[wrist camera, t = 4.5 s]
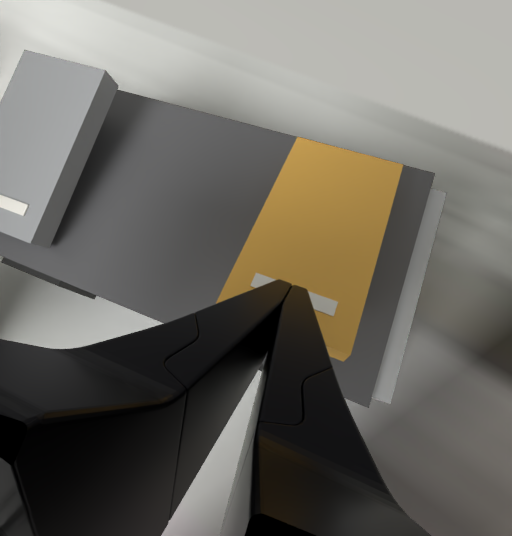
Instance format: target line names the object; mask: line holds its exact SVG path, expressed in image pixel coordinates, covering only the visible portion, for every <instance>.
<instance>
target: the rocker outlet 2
mask: <svg viewBox="0 0 512 536" xmlns="http://www.w3.org/2000/svg"><path fill="white" fill-rule="evenodd" d="M402 168H403V164H399V163H396V162H392V161H388V160H384V159H380V158H377V157H373V156H369V155H365V154H361V153H358V152H354V151H350V150H346V149H342V148H339V147H335V146H331V145H327V144H323V143H320V142H316V141H312V140H308V139H304V138H301V137H297V139H296V141H295V143H294V145H293V147H292V149H291V151H290V153H289V155H288V157H287V159H286V161H285V163H284V165H283V167H282V169H281V171H280V173H279V175H278V177H277V180H276V182H275V184H274V186H273V188H272V190H271V192H270V194H269V196H268V198H267V200H266V202H265V204H264V206H263V208H262V210H261V212H260V214H259V216H258V218H257V220H256V222H255V224H254V226H253V228H252V230H251V232H250V234H249V237H248V239H247V241H246V243H245V245H244V247H243V249H242V251H241V253H240V255H239V257H238V259H237V261H236V263H235V265H234V267H233V269H232V271H231V273H230V275H229V277H228V279H227V281H226V283H225V285H224V287H223V289H222V292H221V294H220V296H219V298H218V300H217V302H216V304H217V303H219V302H222V301H224V300H227V299H229V298H232V297H234V296H237V295H239V294H242V293H245V292H247V291H250V290H252V289H255V288H257V287H260V286H262V285H265V284H267V283H270V282H272V281H275V280H278V279H281V280H283V281H286V282H289V283H291V284H292V286H293V285H297V286H300V287H303V288H306V289H307V290H308V293H309V296H310V299H311V302H312V305H313V308H314V311H315V314H316V317H317V320H318V323H319V326H320V329H321V332H322V335H323V338H324V341H325V344H326V347H327V350H328V353H329V356H330V357H333V358H335V359H338V360H340V361H343V362H344V361H345V360H346V359H347V358H348V357H349V356H350V355H351V352H352V348H353V345H354V341H355V337H356V334H357V330H358V327H359V323H360V319H361V316H362V312H363V309H364V305H365V301H366V298H367V294H368V291H369V287H370V283H371V280H372V276H373V273H374V269H375V265H376V262H377V258H378V255H379V251H380V247H381V244H382V240H383V237H384V233H385V229H386V226H387V222H388V218H389V215H390V211H391V208H392V204H393V200H394V197H395V193H396V190H397V186H398V182H399V179H400V175H401V172H402Z"/></svg>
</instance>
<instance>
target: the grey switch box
mask: <svg viewBox="0 0 512 536" xmlns="http://www.w3.org/2000/svg"><path fill="white" fill-rule="evenodd" d="M296 139H297V137H295V136H291V135H288V134H284V133H280V132H276V131H272V130H269V129H265V128H261V127H257V126H253V125H250V124H246V123H242V122H238V121H234V120H231V119H227V118H223V117H219V116H215V115H212V114H208V113H204V112H200V111H196V110H193V109H189V108H185V107H181V106H178V105H174V104H170V103H166V102H162V101H159V100H155V99H151V98H147V97H143V96H140V95H136V94H132V93H128V92H124V91H121V90H117V91H116V93H115V96H114V98H113V101H112V103H111V105H110V108H109V110H108V112H107V115H106V117H105V119H104V122H103V124H102V126H101V129H100V131H99V133H98V136H97V138H96V140H95V143H94V145H93V147H92V150H91V152H90V154H89V157H88V159H87V161H86V164H85V166H84V168H83V171H82V173H81V175H80V178H79V180H78V182H77V185H76V187H75V189H74V192H73V194H72V196H71V199H70V201H69V204H68V206H67V208H66V211H65V213H64V215H63V218H62V220H61V222H60V225H59V227H58V229H57V232H56V234H55V236H54V239H53V241H52V243H51V246H50V248H46V247H42V246H38V245H34V244H30V243H28V242H25V241H23V240H20V239H18V238H15V237H13V236H10V235H8V234H5V233H2V232H0V256H3V257H4V258H3V260H2V261H1V262H2V263H5V264H7V265H9V266H12V267H14V268H16V269H19V270H21V271H24V272H26V273H28V274H31V275H33V276H36V277H38V278H40V279H43V280H45V281H48V282H50V283H52V284H55V285H57V286H60V287H62V288H65V289H68V290H71V291H73V292H76V293H79V294H81V295H84V296H87V297H89V298H92V299H95V297H96V295H97V296H99V297H102V298H104V299H107V300H109V301H111V302H114V303H116V304H119V305H121V306H123V307H126V308H128V309H131V310H133V311H136V312H138V313H140V314H143V315H145V316H148V317H150V318H152V319H155V320H157V321H160V322H162V323H167V322H170V321H173V320H175V319H178V318H181V317H184V316H186V315H189V314H191V313H194V314H195V312H196V311H199V310H202V309H204V308H207V307H209V306H212V305H214V304H216V302H217V300H218V298H219V296H220V294H221V292H222V289H223V287H224V285H225V283H226V281H227V279H228V277H229V275H230V273H231V271H232V269H233V267H234V265H235V263H236V261H237V259H238V257H239V255H240V253H241V251H242V249H243V247H244V245H245V243H246V241H247V239H248V237H249V234H250V232H251V230H252V228H253V226H254V224H255V222H256V220H257V218H258V216H259V214H260V212H261V210H262V208H263V206H264V204H265V202H266V200H267V198H268V196H269V194H270V192H271V190H272V188H273V186H274V184H275V182H276V180H277V177H278V175H279V173H280V171H281V169H282V167H283V165H284V163H285V161H286V159H287V157H288V155H289V153H290V151H291V149H292V147H293V145H294V143H295V141H296ZM434 175H435V173H432V172H428V171H424V170H420V169H416V168H413V167H409V166H405V165H403V168H402V172H401V175H400V179H399V182H398V186H397V190H396V193H395V197H394V200H393V204H392V208H391V211H390V215H389V218H388V222H387V226H386V229H385V233H384V237H383V240H382V244H381V247H380V251H379V255H378V258H377V262H376V265H375V269H374V273H373V276H372V280H371V283H370V287H369V291H368V294H367V298H366V301H365V305H364V309H363V312H362V316H361V319H360V323H359V327H358V330H357V334H356V337H355V341H354V345H353V348H352V352H351V355H350V356H349V357H348V358H347V359H346V360H345V361H344V362H343V361H340V360H338V359H335V358H333V357H330V359H331V362H332V365H333V369H334V371H335V374H336V377H337V380H338V383H339V386H340V388H341V391H342V394H343V397H344V398H346V399H348V400H351V401H353V402H356V403H358V404H360V405H363V406H365V407H368V408H369V405H370V402H371V398H372V399H375V400H378V401H381V402H384V403H387V404H391V400H392V396H393V393H394V389H395V385H396V381H397V378H398V374H399V370H400V366H401V363H402V359H403V355H404V351H405V348H406V344H407V340H408V336H409V333H410V329H411V325H412V321H413V318H414V314H415V310H416V306H417V303H418V299H419V295H420V291H421V288H422V284H423V280H424V276H425V273H426V269H427V265H428V261H429V258H430V254H431V250H432V246H433V243H434V239H435V235H436V231H437V228H438V224H439V220H440V217H441V213H442V209H443V205H444V202H445V198H446V194H447V193H446V192H443V191H439V190H435V189H432V188H431V186H432V182H433V179H434ZM266 356H267V355H266ZM265 359H266V357H265ZM265 359H264V361H263V362H262V364H261V366H260V368H259V369H258V370H260V371H262V370H263V366H264V363H265Z"/></svg>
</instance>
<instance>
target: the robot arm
mask: <svg viewBox="0 0 512 536" xmlns="http://www.w3.org/2000/svg"><path fill="white" fill-rule="evenodd" d="M266 355H267V356H266ZM265 357H266V359H265ZM264 359H265V363H264V366H263V370H262V374H261V378H260V381H259V385H258V389H257V393H256V397H255V401H254V405H253V408H252V412H251V416H250V420H249V424H248V428H247V432H246V436H245V439H244V443H243V447H242V451H241V455H240V459H239V463H238V466H237V470H236V474H235V478H234V482H233V486H232V490H231V493H230V497H229V501H228V505H227V509H226V513H225V517H224V520H223V524H222V528H221V532H220V536H431V535H430V534H429V533H428V532H426V531H425V530H424V529H423V528H422V527H421V526H419V525H418V524H417V523H416V522H415V521H414V520H412V519H411V518H410V517H409V516H408V515H407V514H406V513H405V512H404V511H403V510H402V508H401V507H400V506H399V505H398V503H397V502H396V501H395V499H394V498H393V496H392V495H391V493H390V491H389V490H388V488H387V486H386V485H385V483H384V481H383V479H382V477H381V475H380V473H379V471H378V469H377V467H376V465H375V463H374V461H373V458H372V456H371V454H370V452H369V450H368V448H367V446H366V444H365V442H364V440H363V438H362V436H361V434H360V432H359V430H358V427H357V425H356V423H355V421H354V419H353V417H352V415H351V412H350V410H349V408H348V406H347V404H346V401H345V399H344V397H343V394H342V391H341V388H340V386H339V383H338V380H337V377H336V374H335V371H334V369H333V365H332V362H331V359H330V356H329V353H328V350H327V347H326V344H325V341H324V338H323V335H322V332H321V329H320V326H319V323H318V320H317V317H316V314H315V311H314V308H313V305H312V302H311V299H310V296H309V293H308V290H307V289H306V288H303V287H300V286H297V285H293V286H292V284H291V283H289V282H286V281H283V280H281V279H278V280H275V281H272V282H270V283H267V284H265V285H262V286H260V287H257V288H255V289H252V290H250V291H247V292H245V293H242V294H239V295H237V296H234V297H232V298H229V299H227V300H224V301H222V302H219V303H217V304H214V305H212V306H209V307H207V308H204V309H202V310H199V311H196V312H195V314H194V313H191V314H189V315H186V316H184V317H181V318H178V319H175V320H173V321H170V322H167V323H164V324H161V325H158V326H155V327H151V328H148V329H145V330H142V331H138V332H135V333H131V334H127V335H124V336H120V337H117V338H113V339H110V340H106V341H103V342H99V343H96V344H92V345H88V346H84V347H80V348H73V349H50V348H44V347H38V346H33V345H28V344H23V343H18V342H12V341H7V340H2V339H0V536H161V535H162V533H163V531H164V530H165V528H166V526H167V525H168V521H169V520H170V519H171V518H172V516H173V514H174V512H175V511H176V509H177V507H178V506H179V504H180V502H181V500H182V499H183V497H184V495H185V494H186V492H187V490H188V489H189V487H190V485H191V483H192V482H193V480H194V478H195V477H196V475H197V473H198V472H199V470H200V468H201V466H202V465H203V463H204V461H205V460H206V458H207V456H208V454H209V453H210V451H211V449H212V448H213V446H214V444H215V443H216V441H217V439H218V437H219V436H220V434H221V432H222V431H223V429H224V427H225V426H226V424H227V422H228V420H229V419H230V417H231V415H232V414H233V412H234V410H235V409H236V407H237V405H238V403H239V402H240V400H241V398H242V397H243V395H244V393H245V391H246V390H247V388H248V386H249V385H250V383H251V381H252V380H253V378H254V376H255V374H256V373H257V371H258V369H259V368H260V366H261V364H262V362H263V361H264Z"/></svg>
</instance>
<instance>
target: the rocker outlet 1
mask: <svg viewBox="0 0 512 536" xmlns="http://www.w3.org/2000/svg"><path fill="white" fill-rule="evenodd" d="M117 89H118V85H117V84H116V82H115V81H114V80H113V79H112V77H111V76H110V75H109V74H108V73H107V71H106V70H103V69H99V68H95V67H91V66H87V65H83V64H79V63H75V62H71V61H67V60H63V59H59V58H55V57H51V56H47V55H43V54H39V53H35V52H31V51H28V50H24V52H23V54H22V56H21V58H20V61H19V63H18V65H17V67H16V69H15V72H14V74H13V76H12V78H11V80H10V82H9V85H8V87H7V89H6V91H5V93H4V96H3V98H2V100H1V102H0V232H2V233H5V234H8V235H10V236H13V237H15V238H18V239H20V240H23V241H25V242H28V243H30V244H34V245H38V246H42V247H46V248H50V246H51V243H52V241H53V239H54V236H55V234H56V232H57V229H58V227H59V225H60V222H61V220H62V218H63V215H64V213H65V211H66V208H67V206H68V204H69V201H70V199H71V196H72V194H73V192H74V189H75V187H76V185H77V182H78V180H79V178H80V175H81V173H82V171H83V168H84V166H85V164H86V161H87V159H88V157H89V154H90V152H91V150H92V147H93V145H94V143H95V140H96V138H97V136H98V133H99V131H100V129H101V126H102V124H103V122H104V119H105V117H106V115H107V112H108V110H109V108H110V105H111V103H112V101H113V98H114V96H115V93H116V91H117Z"/></svg>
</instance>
